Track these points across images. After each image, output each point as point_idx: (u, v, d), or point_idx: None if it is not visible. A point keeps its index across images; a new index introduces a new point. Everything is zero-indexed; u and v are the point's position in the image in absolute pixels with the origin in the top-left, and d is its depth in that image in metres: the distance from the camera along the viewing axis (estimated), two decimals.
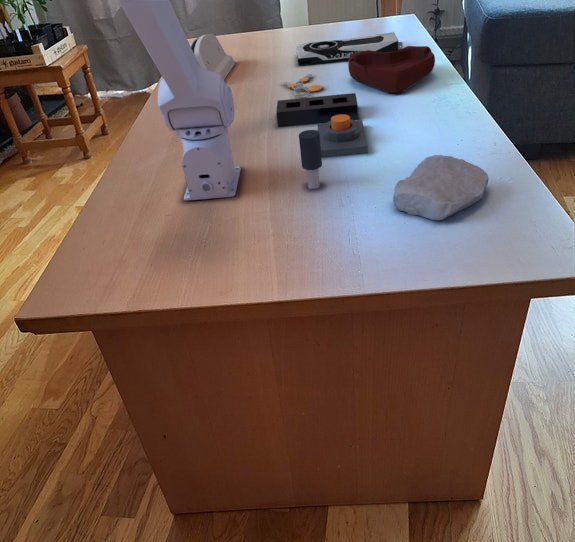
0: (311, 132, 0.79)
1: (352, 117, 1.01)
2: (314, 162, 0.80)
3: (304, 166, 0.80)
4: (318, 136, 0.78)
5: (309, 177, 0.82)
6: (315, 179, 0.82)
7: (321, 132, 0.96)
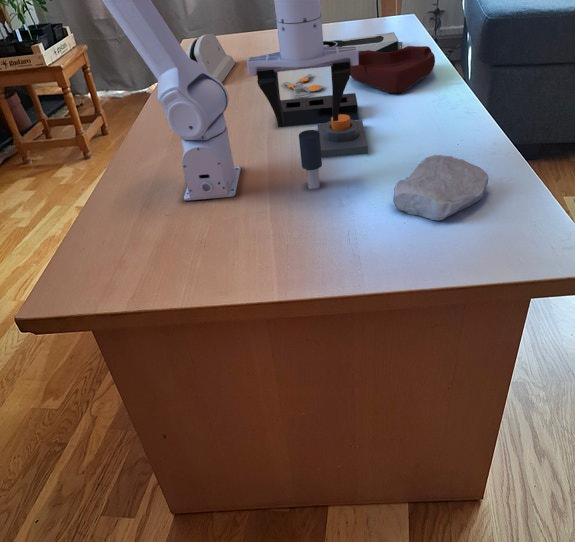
0: (311, 132, 0.79)
1: (352, 117, 1.01)
2: (314, 162, 0.80)
3: (304, 166, 0.80)
4: (318, 136, 0.78)
5: (309, 177, 0.82)
6: (315, 179, 0.82)
7: (321, 132, 0.96)
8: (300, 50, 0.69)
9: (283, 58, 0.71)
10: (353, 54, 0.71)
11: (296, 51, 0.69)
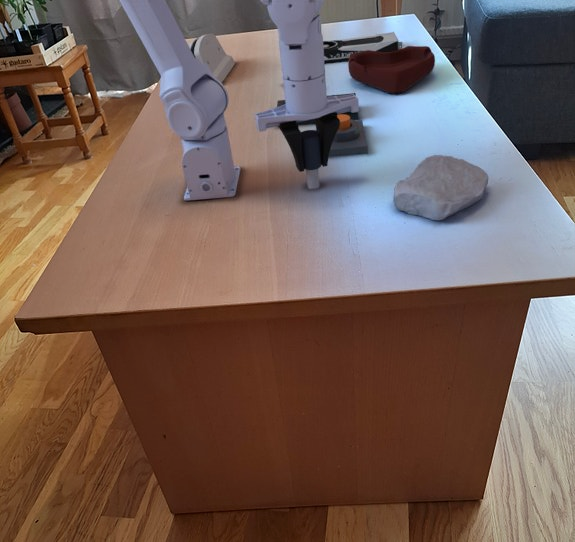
0: (310, 132, 0.79)
1: (352, 117, 1.01)
2: (314, 162, 0.80)
3: (304, 166, 0.80)
4: (318, 136, 0.78)
5: (309, 177, 0.82)
6: (314, 179, 0.82)
7: None
8: (311, 104, 0.73)
9: (292, 112, 0.74)
10: (354, 102, 0.76)
11: (307, 105, 0.73)
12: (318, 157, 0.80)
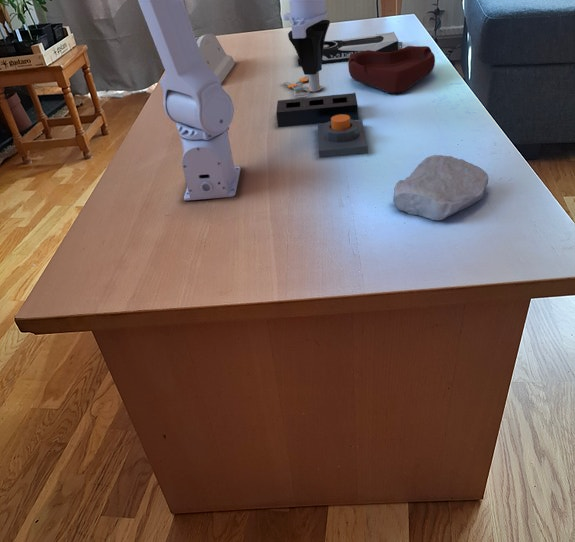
0: None
1: (352, 117, 1.01)
2: None
3: None
4: None
5: (316, 79, 0.95)
6: None
7: (321, 132, 0.96)
8: (324, 4, 0.88)
9: (314, 15, 0.87)
10: None
11: (323, 5, 0.87)
12: None
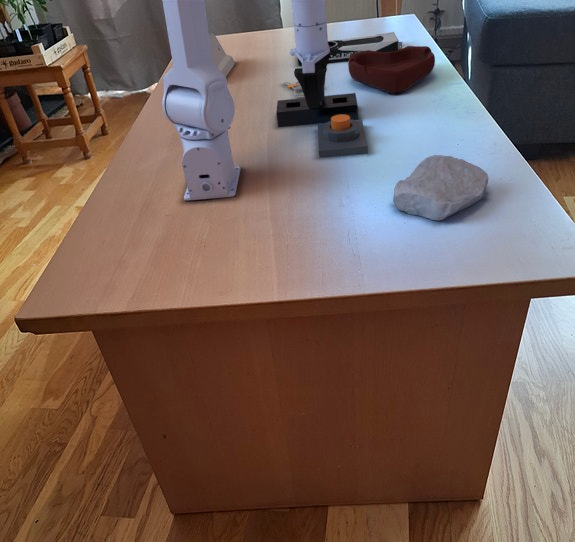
0: None
1: (352, 117, 1.01)
2: None
3: None
4: None
5: None
6: None
7: (321, 132, 0.96)
8: (327, 40, 0.96)
9: (319, 51, 0.95)
10: None
11: (327, 41, 0.96)
12: None
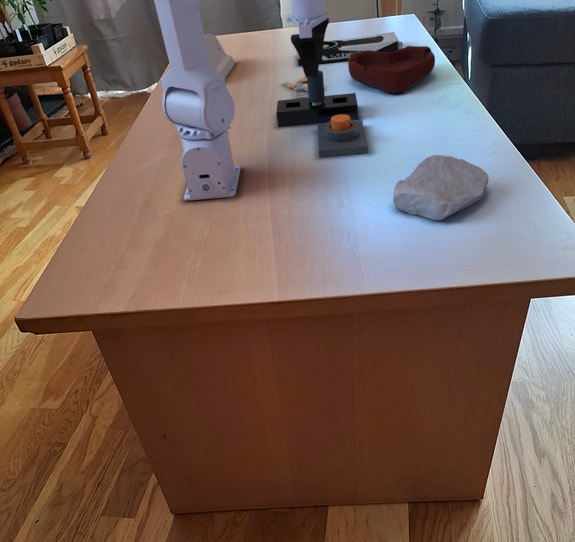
0: None
1: (352, 117, 1.01)
2: None
3: (319, 99, 1.01)
4: None
5: None
6: None
7: (321, 132, 0.96)
8: (325, 5, 0.93)
9: (317, 16, 0.92)
10: None
11: (324, 6, 0.92)
12: None
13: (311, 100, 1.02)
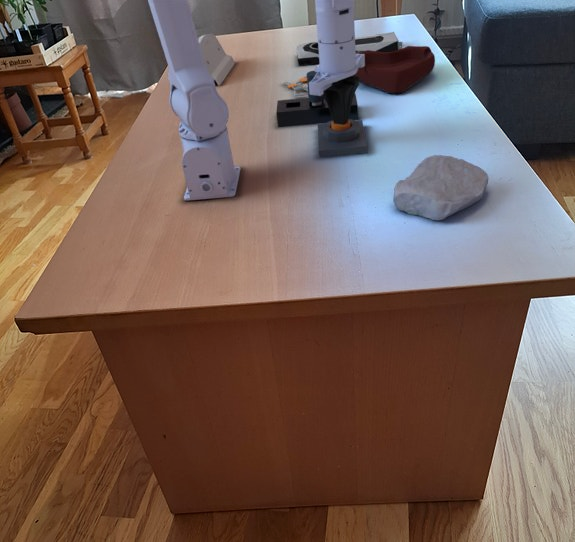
0: (312, 72, 1.00)
1: (352, 117, 1.01)
2: None
3: (319, 99, 1.01)
4: None
5: None
6: None
7: (321, 132, 0.96)
8: (353, 61, 0.85)
9: (339, 72, 0.85)
10: (363, 58, 0.91)
11: (351, 62, 0.85)
12: None
13: (311, 100, 1.02)
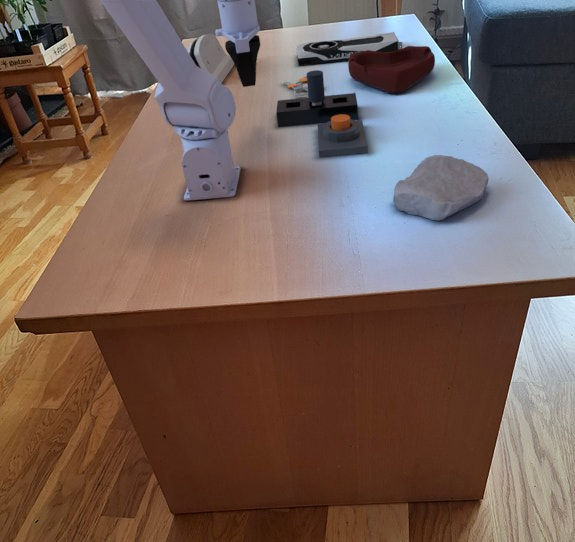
0: (312, 72, 1.00)
1: (352, 117, 1.01)
2: None
3: (319, 99, 1.01)
4: None
5: None
6: None
7: (321, 132, 0.96)
8: (256, 16, 0.86)
9: (250, 28, 0.85)
10: None
11: (256, 18, 0.86)
12: None
13: (311, 100, 1.02)
